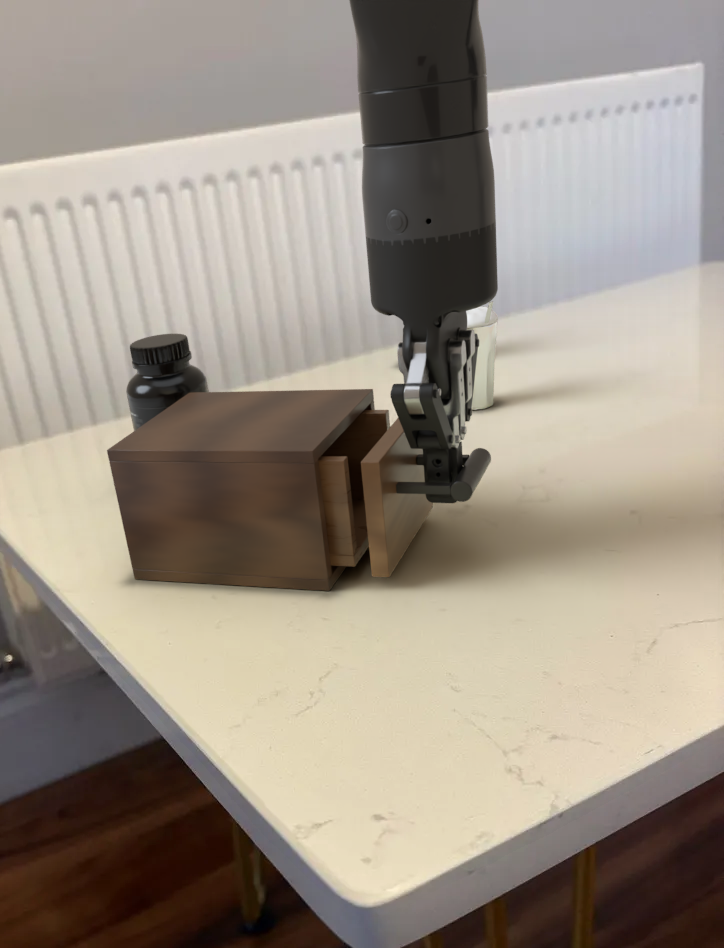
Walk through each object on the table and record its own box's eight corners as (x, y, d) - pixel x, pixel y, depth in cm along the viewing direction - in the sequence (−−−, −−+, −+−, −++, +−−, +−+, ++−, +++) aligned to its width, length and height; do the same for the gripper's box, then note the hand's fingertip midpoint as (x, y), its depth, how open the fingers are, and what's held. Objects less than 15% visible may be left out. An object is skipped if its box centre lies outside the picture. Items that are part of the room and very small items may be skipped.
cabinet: (384, 514, 77) (373, 388, 72) (329, 591, 67) (312, 451, 62) (209, 508, 82) (189, 392, 78) (134, 579, 72) (106, 450, 68)
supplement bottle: (139, 473, 92) (112, 340, 87) (213, 457, 93) (191, 325, 88) (150, 497, 86) (122, 356, 81) (229, 480, 87) (206, 340, 82)
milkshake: (474, 417, 94) (469, 307, 89) (442, 405, 98) (436, 299, 94) (515, 406, 95) (512, 296, 91) (482, 394, 100) (478, 289, 95)
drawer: (501, 509, 72) (497, 401, 69) (466, 582, 63) (459, 462, 60) (262, 502, 79) (248, 405, 76) (199, 567, 70) (180, 460, 67)
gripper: (468, 237, 53) (481, 543, 61) (515, 199, 63) (521, 463, 71) (331, 247, 56) (360, 538, 64) (398, 209, 66) (415, 462, 74)
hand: (445, 498), depth 67 cm, fingers closed
